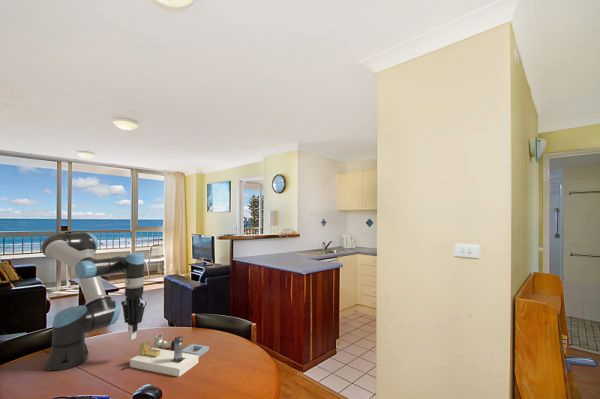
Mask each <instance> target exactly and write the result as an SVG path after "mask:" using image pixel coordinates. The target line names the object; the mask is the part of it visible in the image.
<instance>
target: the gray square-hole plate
mask: <svg viewBox="0 0 600 399" xmlns="http://www.w3.org/2000/svg"><path fill="white" fill-rule="evenodd" d="M194 350H197V351H194ZM209 350H210V346H209V345H203V344H196V343H195V344H194V343H191V344H189V345H188V346H187V347H185V348H182V353H187V354H193V355H199V358H200V357H201V356H202V355H204V354H205V353H207V352H208V351H209Z"/></svg>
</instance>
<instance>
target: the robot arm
mask: <svg viewBox="0 0 600 399" xmlns="http://www.w3.org/2000/svg"><path fill="white" fill-rule="evenodd" d="M98 244H99V242H98V238H97V237H96V235H95V234H94V233H91V232H84V231H83V232H70V233H67V232H66V233H63V232H61V233H60V232H59V233H55V234H53V235H49V236H48V237H46V238H45V239H44V240H43V241H42V243H41V247H40V250H41V253H42V254H43V255H44V256H45V257H47V258H49V259H51V260H57V261H59V262H61V263H63V264H64V265H66V266H68V267H70V268H71V269H73V270H74V274H75V276H76V278H78V280H79V284H80V286H81V290H82V294H83V296H84V300H85V303H84V305H76V306H70V307H66V308H65V309H62V310H60V311H58V312H57V313H56V314H55V315H54V317H53V322H52V324H51V325H52V335H51V348H50V351H49V353H48V356H47V357H46V360H45V363H44V369H45V368H46V369H49V370H58V371H63V369H64V370H67V369H72V368H74V367H77V366H79V365H81V364H83V363H85V362H86V361H87V360H88V358H89V353H90V352H89V349H88V347H87V344H86V341H85V338H86V334H88V333H91V332H95V331H97V330H100V329H104V328H108V327H110V326H111V325H114V324H116V323H117V321H118V320H119V318H120V316H121V315H120V314H121V307H122V312H123V318H124V319H123V320H124V323H125V324H127V325H128V340H129V341H133V340H134V339H137V332H138V327H139V326H138V324H141V323H142V322H143V316H144V312H145V307H146V306H147V301H144V300H143V295H144V290H145V289H144V288H145V287H144V284H145V276H144V275H145V262H146V261H145V254H144V252H131V253H126V256H122V255H118V256H113V257H108V258H107V257H106V258H98V259H96V258H95V257H94V256H95V255H96V251H97V250H98V248H99V245H98ZM120 273H121V274H125V276H124V277H125V283H124V286H125V288H124V297H125V300H123V301H121V302H120V303H121V305H120V303H119V302H118V301H117V300H114V299H112V297H111V295H107V293H106V290H105V287H104V285H103V281H102V278H101V276H102V277H103V276H109V275H115V274H120ZM46 369H45V370H46ZM49 370H48V371H49Z"/></svg>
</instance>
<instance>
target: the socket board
mask: <svg viewBox="0 0 600 399" xmlns="http://www.w3.org/2000/svg"><path fill="white" fill-rule="evenodd" d="M150 349H156V350H161V352H160V355H159V356H157V357H155V356H150V355H141V354H140V353H139V354H137V355H135V356H134V357H132V358H130V359H129V367H130V368H134V369H139V370H144V371H148V372H149V371H150V372H153V373H158V374H164V375H168V376H173V377H179V378H180V377H181V376H182V375H184V374H185V373H187V372H188V371H190V369H192V368H193V367H194V366H196V365H197V364H198V363H199V358H200V357H199V355H193V354H187V353H182V361H181V362H180V363H175V362H174V351H172V350H169V349H168V350H167V349H164V348H162V349H158V348H155V347H150Z"/></svg>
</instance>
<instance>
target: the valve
mask: <svg viewBox="0 0 600 399" xmlns="http://www.w3.org/2000/svg"><path fill="white" fill-rule="evenodd" d="M176 337H177V336H175V337H174V338H176ZM163 338H164V337H163V334H157V335H155V337H154V341H153V346H154V348H158V349H163V348H165V347H166V346H168V347H169V346H170V348H171V351H174V339H173V340H172V342H171V341H168V340H167V339H163Z"/></svg>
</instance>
